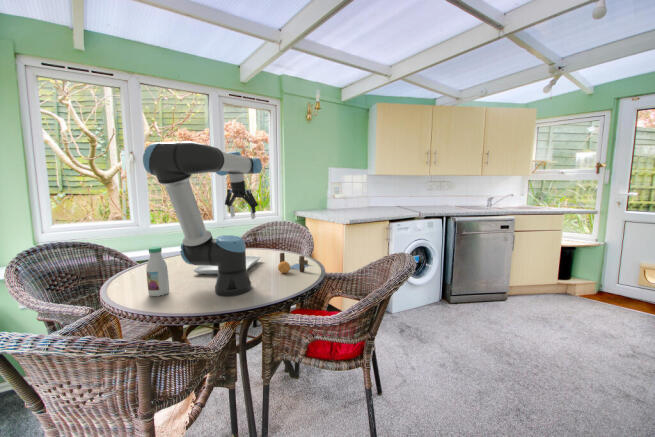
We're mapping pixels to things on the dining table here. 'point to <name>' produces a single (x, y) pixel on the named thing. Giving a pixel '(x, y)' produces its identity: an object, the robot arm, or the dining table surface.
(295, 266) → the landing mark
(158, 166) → the robot arm
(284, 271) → the ball
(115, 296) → the dining table surface
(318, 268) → the dining table surface
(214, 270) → the square plate
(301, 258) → the post right
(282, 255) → the post left
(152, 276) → the milk bottle
